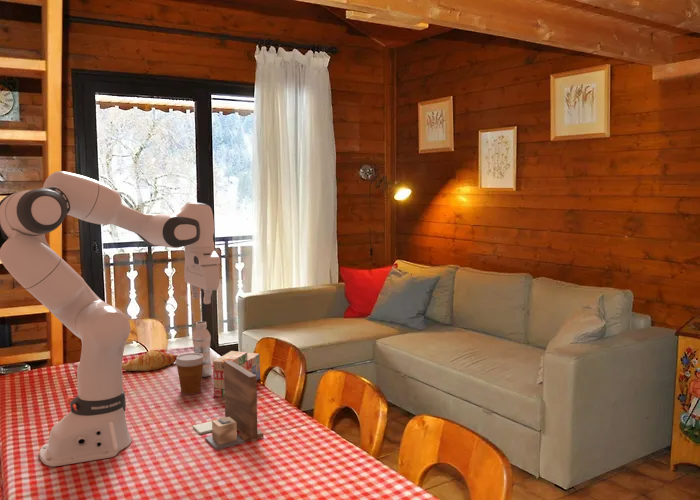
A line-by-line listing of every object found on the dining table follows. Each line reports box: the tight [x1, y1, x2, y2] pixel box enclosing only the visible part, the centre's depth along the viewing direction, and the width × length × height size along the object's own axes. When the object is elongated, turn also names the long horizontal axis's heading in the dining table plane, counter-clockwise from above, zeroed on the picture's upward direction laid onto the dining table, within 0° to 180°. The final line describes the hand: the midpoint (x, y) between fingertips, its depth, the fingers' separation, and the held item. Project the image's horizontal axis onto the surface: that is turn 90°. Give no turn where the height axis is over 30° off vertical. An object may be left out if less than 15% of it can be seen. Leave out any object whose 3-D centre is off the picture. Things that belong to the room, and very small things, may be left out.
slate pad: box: [204, 434, 245, 451], centre depth 169 cm, size 8×8×1 cm
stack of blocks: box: [212, 350, 261, 398], centre depth 212 cm, size 21×6×12 cm, turn 161°
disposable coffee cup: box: [174, 352, 204, 395], centre depth 208 cm, size 10×10×12 cm
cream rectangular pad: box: [192, 420, 212, 435], centre depth 178 cm, size 8×6×1 cm
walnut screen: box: [219, 360, 264, 443], centre depth 176 cm, size 6×18×18 cm, turn 34°
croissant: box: [122, 349, 179, 372], centre depth 235 cm, size 21×10×8 cm
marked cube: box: [211, 416, 238, 444], centre depth 169 cm, size 5×5×5 cm
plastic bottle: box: [191, 320, 213, 378], centre depth 223 cm, size 6×7×20 cm
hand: (201, 301), depth 189 cm, fingers open, 8 cm apart
